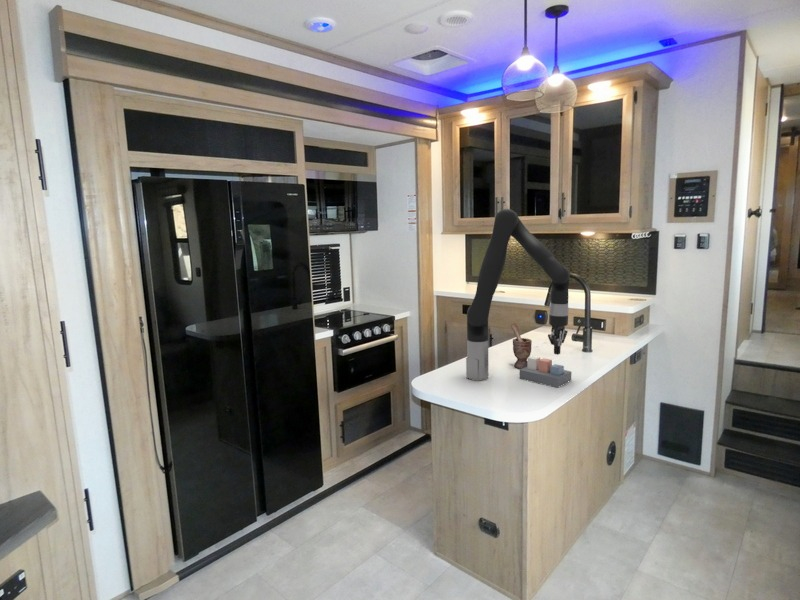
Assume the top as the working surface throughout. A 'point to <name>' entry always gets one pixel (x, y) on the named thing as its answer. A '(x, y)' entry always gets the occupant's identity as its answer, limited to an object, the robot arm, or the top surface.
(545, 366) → the coral key
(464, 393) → the top surface
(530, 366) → the white key
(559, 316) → the robot arm
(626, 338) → the top surface
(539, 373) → the grey flat block
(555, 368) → the slate-blue key
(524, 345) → the mortar and pestle
